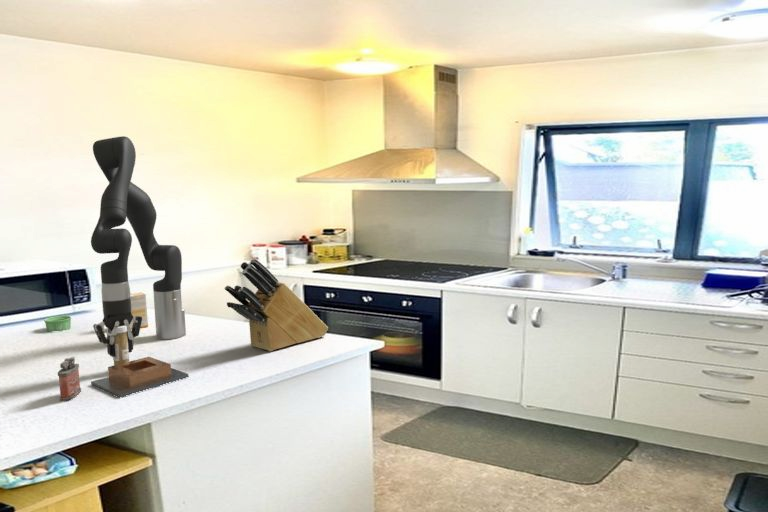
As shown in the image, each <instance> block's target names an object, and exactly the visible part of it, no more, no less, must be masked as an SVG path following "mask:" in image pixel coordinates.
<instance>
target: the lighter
mask: <svg viewBox="0 0 768 512" xmlns="http://www.w3.org/2000/svg"><path fill="white" fill-rule="evenodd" d="M75 360H76V359H75V357H73V356H72V357H67V358H64V361H62V362H61V363H60V364H59V366H60V370H58V371H57V376H58V382H59V394H60V396H59V401H60V402H61V401H66V402H69V400H70V401H72V400H74V399H75V398H77V397H78V396H80V394H81V393H80V392H82V388H81V383H80V382H81V381H80V371H79V368H80V364H79V363H75V362H76V361H75ZM79 393H80V394H79ZM77 395H78V396H77ZM73 398H74V399H73ZM71 399H72V400H71Z"/></svg>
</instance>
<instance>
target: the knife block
mask: <svg viewBox="0 0 768 512" xmlns="http://www.w3.org/2000/svg"><path fill="white" fill-rule="evenodd" d="M240 268H241V270H242V273H241V274H242V275H243V276H244V277H245V278H246V279H247V280H248V281H249V282H250V283H251V285H253V286H254V287H255V288H256V289H257V290H256V292H253V291H252V290H251V289H249V288H248V287H246V286H243V287H242V286H240V285H235V286H234V288H233V287H232V286H230V285H226V286H225V287H224V290H225V291H226V292H228V293H229V294H230V296H232V297H233V298H234V299H235V300H236V301H238V302H239V303H236V302H231V301H230V302H226V306H227V307H228V308H231V309H232V310H234V312H236V313H237V314H239V315H240V316H242V317H244V318H245V319H247V321H248V320H249V321H248V322H249V323H248V325H249V335H250V336H249V337H250V345H251V346H253V347H255V348H259V349H262V350H266V351H268V352H273V351H274V350H278V349H282V348H285V347H288V346H291V345H294V344H299V343H304V342H307V341H311V340H314V339H320V338H321V337H324V336H326V334H327V331H328V330H329V326H327V325H326V323H324V321H323V320H321V319H320V317H318V315H317V314H315V313H314V311H313V310H312V309H311V308H310V307H309V305H307V304H306V303H305V302H304V301H302V299H301V298H300V297H299V296H298V295H297V294H296V293H295V292H294V291H293V290H292V289H291V288H290V287H289V286H288V285H287V284H286V283H284V282H280V281H279V280H278V279H277V278H276V277H275V276H274V274H272V272H271V271H270V270H269V269H267V268H266V266H265V265H263V264H262V263H261V262H260V261H259V260H258V259H256V258H252V259H251V260H250V262H249V263H247V261H244V262H242V263H241V264H240Z"/></svg>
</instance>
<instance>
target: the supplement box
mask: <svg viewBox="0 0 768 512" xmlns="http://www.w3.org/2000/svg"><path fill="white" fill-rule="evenodd" d="M146 295H147V294H146V293H144V292H135V293H130V298H131V314H132V315H133V316H140V317H142V322H141V327H140V329H141V328H147V327H149V320H148V319H149V317H148V307H147V296H146ZM129 326H130V328H131V331H132V326H133V322H132V321H131V323H130V325H129Z"/></svg>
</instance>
